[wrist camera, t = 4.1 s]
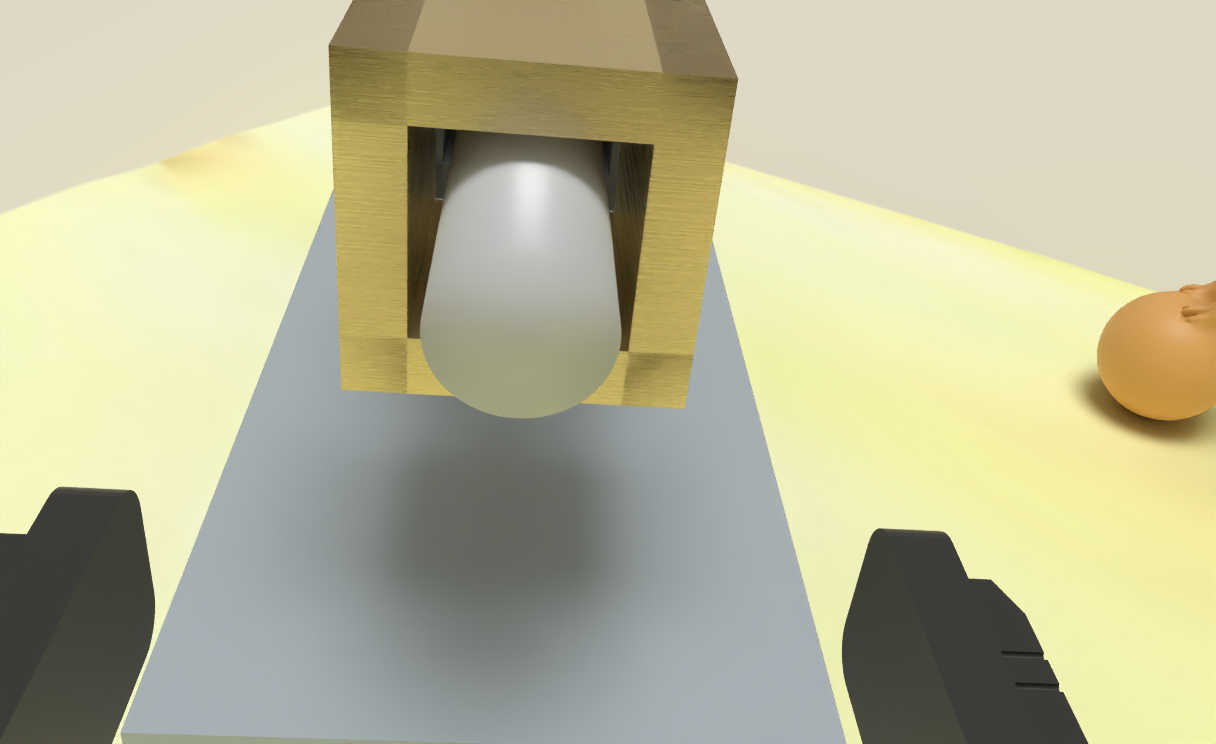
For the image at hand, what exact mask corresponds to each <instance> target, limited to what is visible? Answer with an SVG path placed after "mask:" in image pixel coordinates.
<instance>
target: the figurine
mask: <svg viewBox="0 0 1216 744" xmlns="http://www.w3.org/2000/svg"><path fill="white" fill-rule="evenodd" d="M1097 363H1098V369H1099V373H1100V376H1101V379H1102V381H1103V383H1104V385H1105V387H1106V388H1107V390H1108V391H1109V393H1110V394H1111V395H1112V396H1113V397H1114V398H1115V399H1116V400H1117V401H1118V402H1119V403H1120V404H1121V405H1123V406H1124V407H1125V408H1127V409H1129V410H1130V411H1132V412H1134V413H1136V414H1138V415H1141V416H1144V417H1147V418H1151V419H1156V420H1180V419H1186V418H1190V417H1193V416H1196V415H1198V414H1201V413H1203V412H1205V411H1207V410H1208V409H1210V408H1212V407H1213V406H1214V405H1216V281H1214V282H1212V283H1210V284H1207V285H1194V284H1193V285H1186V286H1184V287H1182V288H1181V289H1180V290H1179V291H1172V292H1157V293H1152V294H1148V295H1145V296H1142V297H1139V298H1137V299H1135V300H1133V301H1131V302H1129V303H1128V304H1126V305H1125V306H1123V307H1122V308H1121V309H1119V310H1118V311H1117V312H1116V313H1115V314H1114V315H1113V316H1112V318H1111V319H1110V320H1109V321H1108V323H1107V324H1106V326H1105V328H1104V330H1103V332H1102V334H1101V337H1100V340H1099V344H1098V349H1097Z"/></svg>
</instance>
